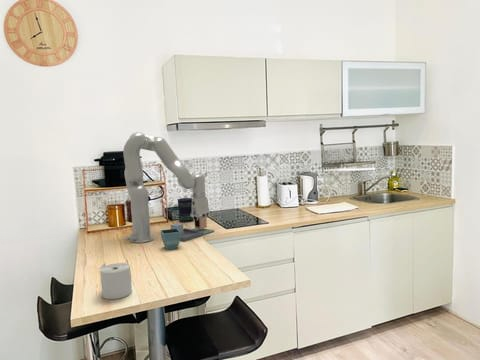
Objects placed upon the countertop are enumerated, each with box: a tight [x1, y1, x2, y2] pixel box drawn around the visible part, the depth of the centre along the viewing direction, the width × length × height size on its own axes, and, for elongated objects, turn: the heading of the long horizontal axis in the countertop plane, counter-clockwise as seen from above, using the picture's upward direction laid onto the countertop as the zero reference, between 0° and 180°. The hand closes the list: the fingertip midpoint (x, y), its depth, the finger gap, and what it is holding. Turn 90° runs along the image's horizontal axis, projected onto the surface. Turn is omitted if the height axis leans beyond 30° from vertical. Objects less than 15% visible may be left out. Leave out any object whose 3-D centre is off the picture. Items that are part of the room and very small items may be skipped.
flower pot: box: [160, 228, 181, 250], centre depth 199 cm, size 9×9×9 cm
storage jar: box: [177, 197, 195, 224], centre depth 259 cm, size 10×10×15 cm
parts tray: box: [180, 227, 204, 243], centre depth 220 cm, size 14×16×2 cm
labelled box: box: [194, 215, 208, 229], centre depth 229 cm, size 5×5×7 cm
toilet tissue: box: [99, 262, 133, 300], centre depth 143 cm, size 11×12×10 cm
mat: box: [191, 227, 215, 236], centre depth 230 cm, size 8×14×1 cm, turn 48°
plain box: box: [170, 222, 184, 236], centre depth 220 cm, size 5×5×6 cm
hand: (200, 225), depth 229 cm, fingers closed on labelled box, 5 cm apart
